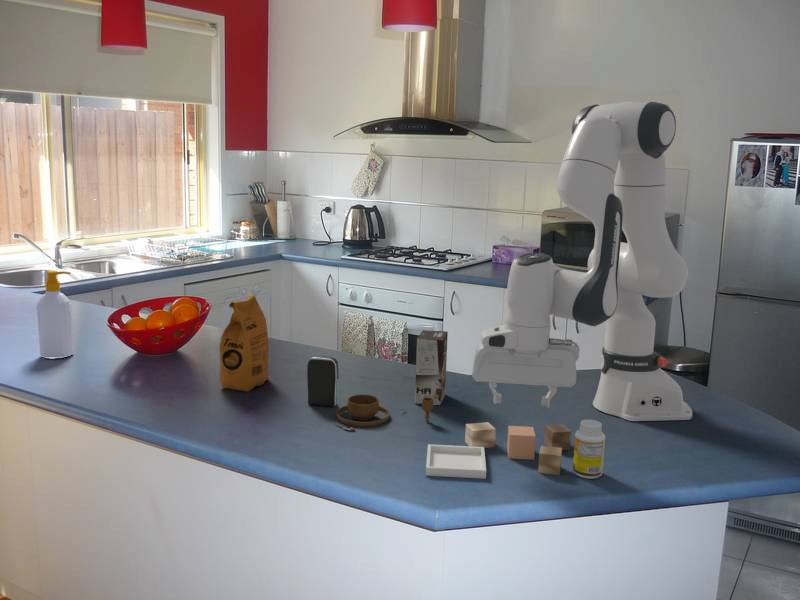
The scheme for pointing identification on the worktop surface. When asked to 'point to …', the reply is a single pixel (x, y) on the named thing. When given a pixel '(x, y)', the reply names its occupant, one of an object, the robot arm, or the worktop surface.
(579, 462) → the supplement bottle
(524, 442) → the terracotta block
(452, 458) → the tray
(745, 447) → the worktop surface
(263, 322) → the coffee package
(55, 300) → the soap bottle
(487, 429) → the beech block
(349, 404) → the place setting
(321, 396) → the battery charger
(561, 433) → the walnut block
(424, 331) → the coffee box
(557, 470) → the oak block
